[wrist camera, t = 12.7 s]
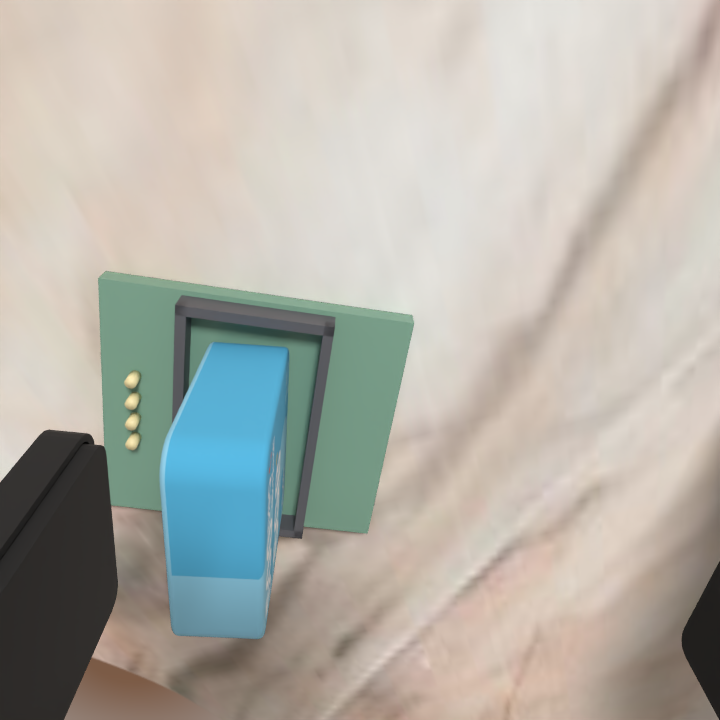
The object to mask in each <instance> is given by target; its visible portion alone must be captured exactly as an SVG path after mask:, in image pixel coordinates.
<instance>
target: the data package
mask: <svg viewBox="0 0 720 720" xmlns="http://www.w3.org/2000/svg"><path fill="white" fill-rule="evenodd" d="M288 384H289V350H288V348H286V347H279V346H265V345H251V344H236V343H222V342H212V343H211V344H210V345H209V346H208V348H207V350H206V352H205V354H204V356H203V359H202V361H201V363H200V365H199V367H198V369H197V371H196V374H195V376H194V378H193V380H192V382H191V384H190V387H189V389H188V391H187V393H186V395H185V397H184V399H183V402H182V404H181V406H180V408H179V410H178V412H177V414H176V417H175V419H174V421H173V423H172V425H171V427H170V429H169V432H168V434H167V436H166V439H165V442H164V445H163V449H162V454H161V461H160V473H159V481H160V495H161V507H162V519H163V531H164V544H165V556H166V568H167V581H168V593H169V605H170V618H171V627H172V631H173V633H174V634H175V635H178V636H199V637H223V638H247V639H260V638H262V637H263V636H264V633H265V629H266V623H267V616H268V608H269V601H270V594H271V587H272V580H273V573H274V566H275V559H276V551H277V544H278V537H279V530H280V523H281V516H282V509H283V499H284V487H285V463H286V437H287V410H288Z"/></svg>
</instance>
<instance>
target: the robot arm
mask: <svg viewBox="0 0 720 720" xmlns="http://www.w3.org/2000/svg"><path fill="white" fill-rule="evenodd" d="M117 588H118V579H117V568H116V557H115V545H114V534H113V522H112V511H111V500H110V488H109V477H108V465H107V454H106V450H105V448H104V446H102V445H94V440H93V438H92V436H91V435H90V434H87V433H77V432H66V431H56V430H46V431H44V432H43V433H41V434H40V435H39V437H38V438H37V439H36V440H35V441H34V443H33V444H32V445H31V446H30V447H29V449H28V450H27V451H26V452H25V453H24V455H23V456H22V457H21V458H20V459H19V461H18V462H17V463H16V464H15V465H14V467H13V468H12V469H11V470H10V471H9V473H8V474H7V475H6V476H5V477H4V479H3V480H2V481H1V482H0V720H64V718H65V716H66V713H67V711H68V709H69V707H70V704H71V702H72V700H73V698H74V695H75V693H76V691H77V689H78V687H79V684H80V682H81V680H82V678H83V675H84V673H85V671H86V668H87V666H88V664H89V662H90V659H91V657H92V655H93V653H94V650H95V648H96V646H97V644H98V641H99V639H100V637H101V635H102V632H103V630H104V628H105V626H106V623H107V621H108V619H109V616H110V614H111V612H112V609H113V607H114V604H115V600H116V595H117ZM682 647H683V651H684V654H685V656H686V659H687V660H688V662H689V664H690V666H691V668H692V670H693V672H694V674H695V675H696V677H697V679H698V681H699V683H700V685H701V687H702V688H703V690H704V692H705V694H706V696H707V698H708V700H709V701H710V703H711V705H712V707H713V709H714V711H715V713H716V714H717V716H718V718H719V720H720V561H719V563H718V565H717V567H716V569H715V571H714V573H713V575H712V577H711V579H710V580H709V582H708V584H707V586H706V588H705V590H704V592H703V594H702V596H701V597H700V599H699V601H698V603H697V605H696V607H695V609H694V611H693V613H692V615H691V616H690V618H689V620H688V622H687V624H686V626H685V628H684V630H683V633H682Z"/></svg>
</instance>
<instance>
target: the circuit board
mask: <svg viewBox="0 0 720 720" xmlns="http://www.w3.org/2000/svg"><path fill="white" fill-rule="evenodd" d="M98 284H99V312H100V340H101V367H102V395H103V422H104V448H105V450H106V454H107V465H108V477H109V488H110V500H111V505H114V506H123V507H132V508H141V509H150V510H159V511H162V507H161V495H160V481H159V473H160V461H161V454H162V449H163V445H164V442H165V439H166V436H167V434H168V432H169V429H170V427H171V425H172V423H173V421H174V419H175V417H176V414H177V412H178V410H179V408H180V406H181V404H182V402H183V399H184V397H185V395H186V393H187V391H188V389H189V387H190V384H191V382H192V380H193V378H194V376H195V374H196V371H197V369H198V367H199V365H200V363H201V361H202V359H203V356H204V354H205V352H206V350H207V348H208V346H209V345H210V344H211V343H212V342H222V343H236V344H251V345H265V346H279V347H286V348H288V350H289V384H288V410H287V437H286V463H285V487H284V499H283V509H282V516H281V523H280V530H279V536H282V537H291V538H300V539H302V534H303V527H313V528H322V529H331V530H340V531H349V532H358V533H368V529H369V524H370V520H371V515H372V511H373V506H374V502H375V497H376V493H377V488H378V484H379V479H380V475H381V470H382V466H383V461H384V457H385V452H386V448H387V443H388V439H389V434H390V430H391V425H392V421H393V416H394V412H395V407H396V403H397V398H398V394H399V389H400V385H401V380H402V376H403V371H404V367H405V362H406V358H407V353H408V349H409V344H410V340H411V335H412V331H413V326H414V321H413V316H412V315H407V314H400V313H393V312H386V311H379V310H372V309H365V308H358V307H351V306H344V305H337V304H330V303H324V302H317V301H310V300H303V299H296V298H289V297H282V296H275V295H268V294H261V293H254V292H247V291H240V290H233V289H226V288H220V287H213V286H206V285H199V284H192V283H185V282H178V281H171V280H164V279H157V278H150V277H143V276H136V275H129V274H123V273H116V272H109V271H105V272H104V273H103V274H102V275H101V276H100V277H99V278H98Z"/></svg>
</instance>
